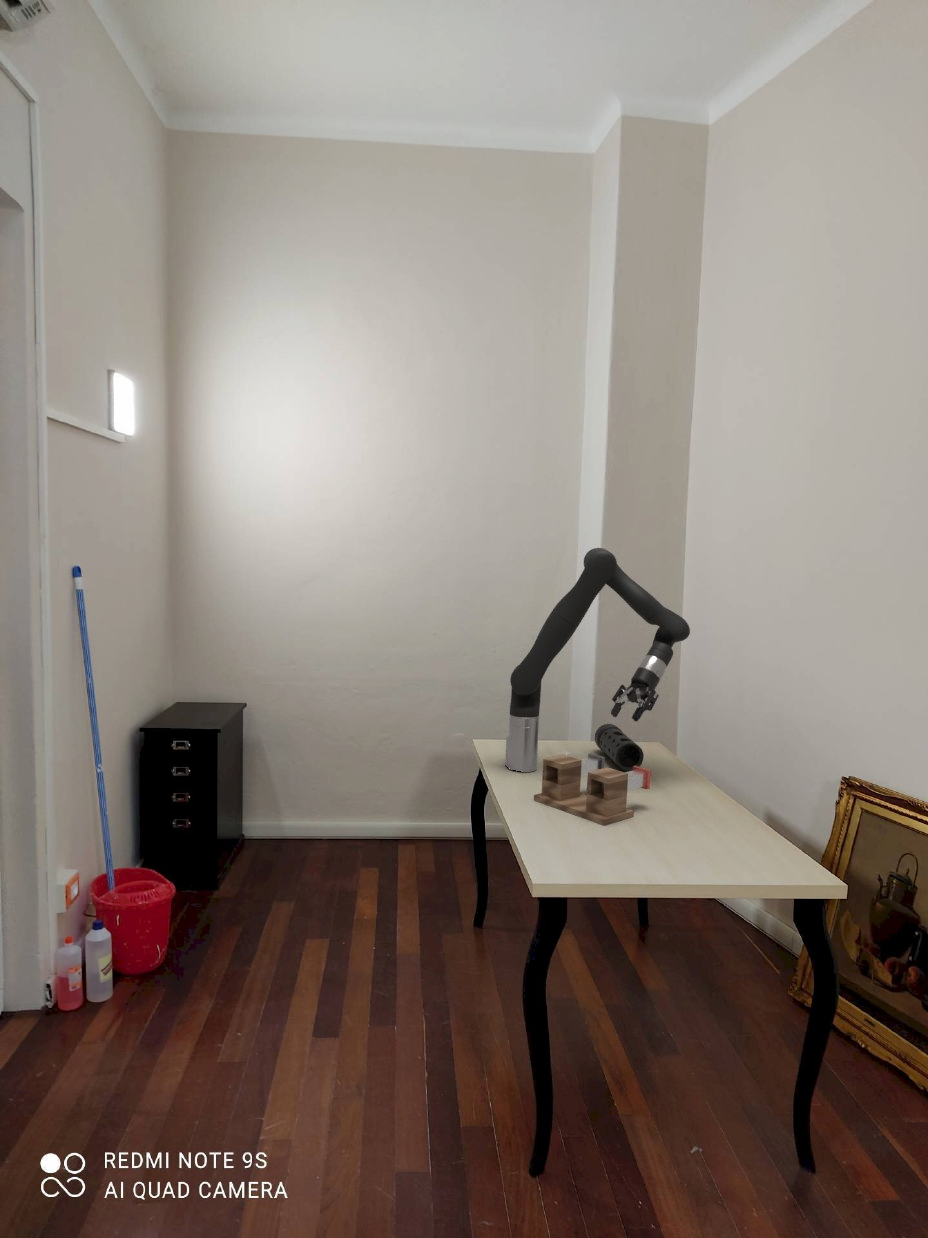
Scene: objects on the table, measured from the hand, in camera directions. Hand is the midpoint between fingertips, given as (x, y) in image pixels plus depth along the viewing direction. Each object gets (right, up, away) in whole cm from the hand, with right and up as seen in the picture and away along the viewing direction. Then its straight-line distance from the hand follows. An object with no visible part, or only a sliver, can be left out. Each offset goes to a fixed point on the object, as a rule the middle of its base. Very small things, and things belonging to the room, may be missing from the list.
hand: (623, 717), depth 250 cm
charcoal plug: (-14, -16, -10) cm, 24 cm away
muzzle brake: (+3, -18, +28) cm, 34 cm away
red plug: (-4, -17, -22) cm, 28 cm away
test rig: (-15, -22, -21) cm, 34 cm away
